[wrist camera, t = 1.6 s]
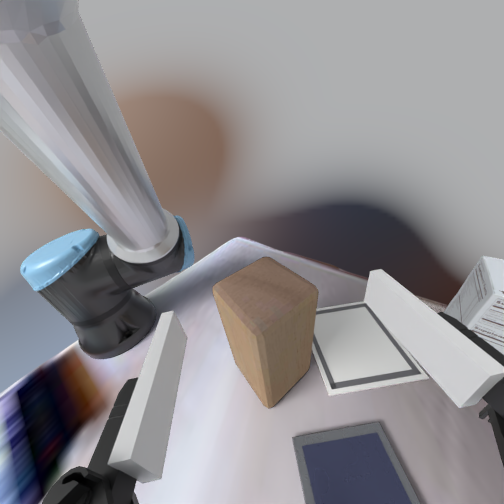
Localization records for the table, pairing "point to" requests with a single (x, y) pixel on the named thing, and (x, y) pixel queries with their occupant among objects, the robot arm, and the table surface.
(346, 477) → the ink pad
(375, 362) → the mat
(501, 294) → the supplement box
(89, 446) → the table surface
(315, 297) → the wooden block
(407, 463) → the table surface
